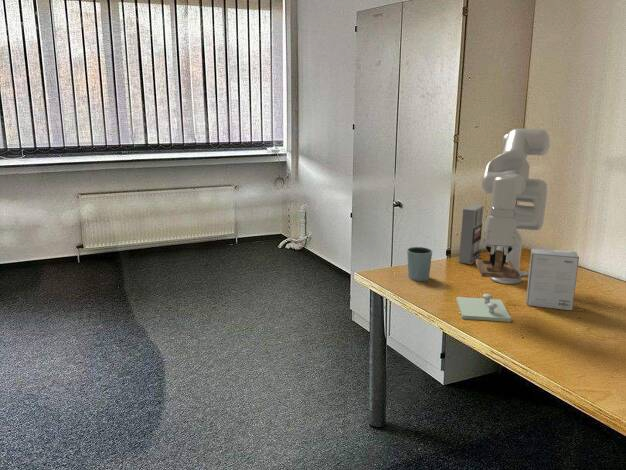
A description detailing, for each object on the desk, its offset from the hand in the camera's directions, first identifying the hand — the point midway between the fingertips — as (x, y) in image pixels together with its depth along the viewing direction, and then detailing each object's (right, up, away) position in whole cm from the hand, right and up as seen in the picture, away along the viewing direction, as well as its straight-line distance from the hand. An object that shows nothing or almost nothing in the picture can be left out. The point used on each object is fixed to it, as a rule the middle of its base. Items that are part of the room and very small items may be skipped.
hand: (497, 264), depth 191 cm
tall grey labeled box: (+9, -2, +65) cm, 65 cm away
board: (-4, -17, +4) cm, 18 cm away
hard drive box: (+22, -16, +11) cm, 29 cm away
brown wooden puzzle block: (0, -2, +1) cm, 2 cm away
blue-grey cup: (-20, -8, +39) cm, 44 cm away
